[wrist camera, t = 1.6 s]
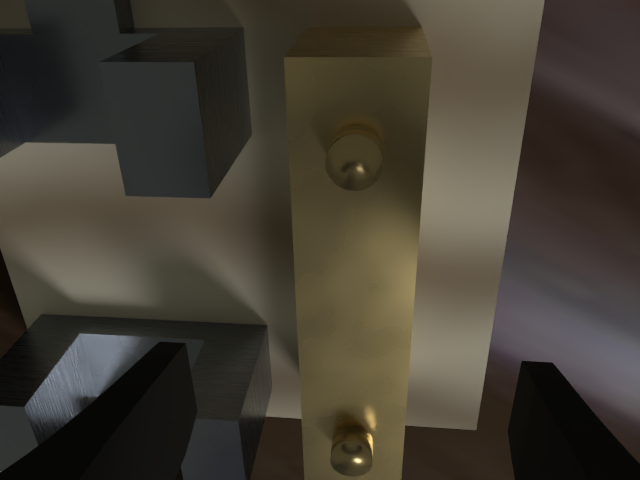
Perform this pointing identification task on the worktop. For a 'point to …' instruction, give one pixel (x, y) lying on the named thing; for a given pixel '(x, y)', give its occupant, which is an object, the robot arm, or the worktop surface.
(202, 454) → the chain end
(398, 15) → the jig board
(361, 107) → the master link
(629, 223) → the worktop surface
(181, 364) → the robot arm
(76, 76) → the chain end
